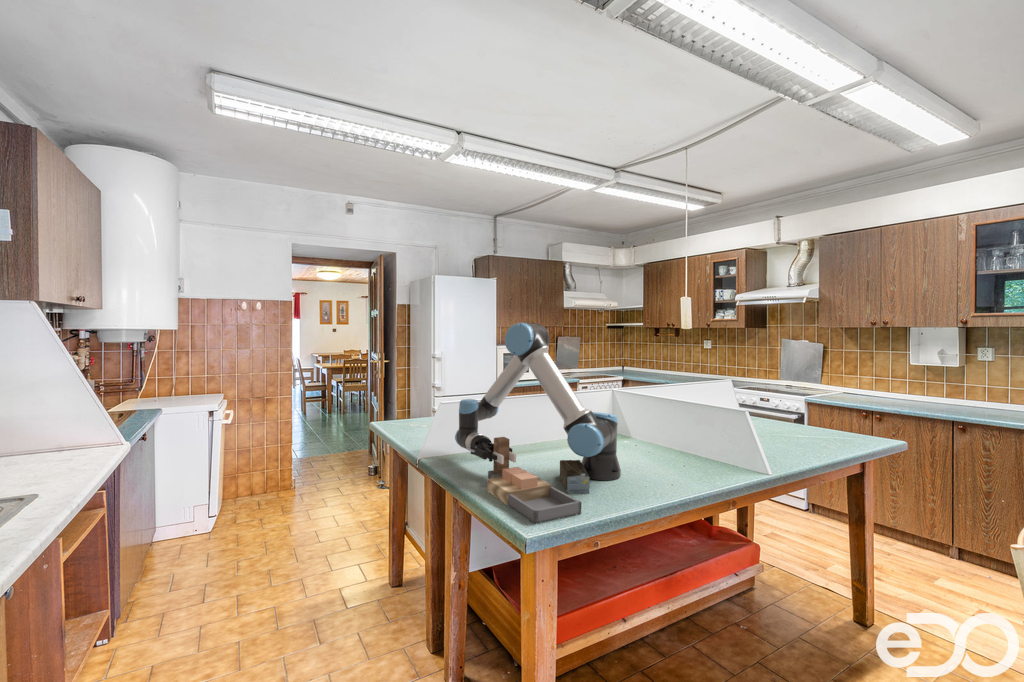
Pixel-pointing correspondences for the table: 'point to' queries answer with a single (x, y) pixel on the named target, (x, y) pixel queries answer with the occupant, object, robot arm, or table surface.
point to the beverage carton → (574, 476)
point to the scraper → (502, 448)
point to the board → (517, 490)
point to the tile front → (524, 480)
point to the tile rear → (509, 471)
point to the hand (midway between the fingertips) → (508, 459)
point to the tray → (546, 506)
